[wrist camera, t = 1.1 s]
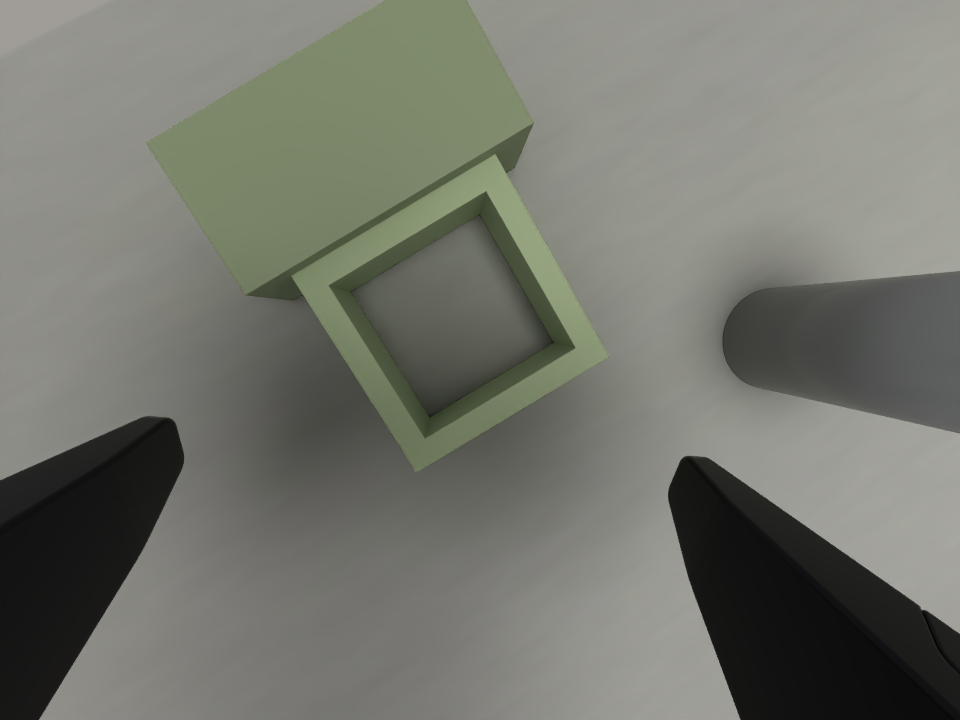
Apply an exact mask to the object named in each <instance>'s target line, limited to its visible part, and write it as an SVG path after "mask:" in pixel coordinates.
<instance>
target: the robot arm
mask: <svg viewBox="0 0 960 720" xmlns="http://www.w3.org/2000/svg"><path fill="white" fill-rule="evenodd" d="M183 464H184V452H183V449H182V445H181V441H180V437H179V433H178V430H177V426H176V423H175V422H174V421H173V420H172V419H170V418H167V417H154V416H146V417H142V418H140V419H137V420H135V421H133V422H131V423H128V424H126V425H124V426H122V427H119V428H117V429H115V430H113V431H110V432H108V433H106V434H104V435H101V436H99V437H97V438H95V439H92V440H90V441H88V442H86V443H83V444H81V445H79V446H77V447H74V448H72V449H70V450H68V451H65V452H63V453H61V454H59V455H56V456H54V457H52V458H50V459H47V460H45V461H43V462H41V463H38V464H36V465H34V466H31V467H29V468H27V469H25V470H22V471H20V472H18V473H16V474H13V475H11V476H9V477H7V478H4V479H2V480H0V720H39V719H40V717H41V716H42V714H43V712H44V711H45V709H46V707H47V706H48V704H49V703H50V701H51V699H52V698H53V696H54V694H55V693H56V691H57V689H58V688H59V686H60V685H61V683H62V681H63V680H64V678H65V676H66V675H67V673H68V672H69V670H70V668H71V667H72V665H73V663H74V662H75V660H76V659H77V657H78V655H79V654H80V652H81V650H82V649H83V647H84V645H85V644H86V642H87V641H88V639H89V637H90V636H91V634H92V632H93V631H94V629H95V628H96V626H97V624H98V623H99V621H100V619H101V618H102V616H103V615H104V613H105V611H106V610H107V608H108V606H109V605H110V603H111V601H112V600H113V598H114V597H115V595H116V593H117V592H118V590H119V588H120V587H121V585H122V584H123V582H124V580H125V579H126V577H127V575H128V574H129V572H130V571H131V569H132V567H133V566H134V564H135V562H136V561H137V559H138V557H139V555H140V554H141V552H142V550H143V548H144V546H145V545H146V543H147V541H148V539H149V537H150V535H151V533H152V531H153V529H154V526H155V524H156V522H157V520H158V518H159V516H160V514H161V512H162V510H163V508H164V506H165V503H166V501H167V499H168V497H169V495H170V493H171V491H172V489H173V487H174V485H175V483H176V480H177V478H178V476H179V474H180V472H181V470H182V467H183ZM668 500H669V505H670V508H671V512H672V516H673V520H674V524H675V528H676V532H677V536H678V540H679V544H680V548H681V551H682V555H683V559H684V563H685V567H686V570H687V574H688V577H689V581H690V583H691V586H692V589H693V592H694V595H695V598H696V600H697V603H698V606H699V609H700V611H701V614H702V617H703V619H704V622H705V625H706V627H707V630H708V633H709V636H710V638H711V641H712V644H713V646H714V649H715V652H716V655H717V657H718V660H719V663H720V665H721V668H722V671H723V673H724V676H725V679H726V682H727V684H728V687H729V690H730V692H731V695H732V698H733V701H734V703H735V706H736V709H737V711H738V714H739V717H740V719H741V720H960V634H959V633H958V632H956V631H955V630H953V629H952V628H951V627H949V626H948V625H946V624H945V623H943V622H942V621H941V620H939V619H938V618H936V617H935V616H934V615H932V614H931V613H929V612H928V611H926V610H921V608H920V606H919V605H918V604H916V603H915V602H913V601H912V600H910V599H909V598H908V597H906V596H905V595H903V594H902V593H900V592H899V591H898V590H896V589H895V588H893V587H892V586H890V585H889V584H888V583H886V582H885V581H883V580H882V579H880V578H879V577H878V576H876V575H875V574H873V573H872V572H870V571H869V570H868V569H866V568H865V567H863V566H862V565H860V564H859V563H858V562H856V561H855V560H853V559H852V558H850V557H849V556H848V555H846V554H845V553H843V552H842V551H840V550H839V549H838V548H836V547H835V546H833V545H832V544H830V543H829V542H828V541H826V540H825V539H823V538H822V537H820V536H819V535H818V534H816V533H815V532H813V531H812V530H810V529H809V528H808V527H806V526H805V525H803V524H802V523H800V522H799V521H798V520H796V519H795V518H793V517H792V516H790V515H789V514H788V513H786V512H785V511H783V510H782V509H780V508H779V507H778V506H776V505H775V504H773V503H772V502H770V501H769V500H768V499H766V498H765V497H763V496H762V495H760V494H759V493H758V492H756V491H755V490H753V489H752V488H750V487H749V486H748V485H746V484H745V483H743V482H742V481H740V480H739V479H738V478H736V477H735V476H733V475H732V474H730V473H729V472H728V471H726V470H725V469H723V468H722V467H720V466H719V465H718V464H716V463H715V462H713V461H712V460H710V459H709V458H706V457H698V456H685V457H683V458H682V459H681V461H680V463H679V465H678V468H677V470H676V472H675V475H674V477H673V479H672V482H671V484H670V487H669V491H668Z"/></svg>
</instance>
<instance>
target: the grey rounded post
mask: <svg viewBox="0 0 960 720" xmlns="http://www.w3.org/2000/svg"><path fill="white" fill-rule="evenodd" d="M723 350H724V354H725V358H726V360H727V363H728V365H729V366H730V368H731V370H732V371H733V372H734V373H735V375H736V376H737V377H739V378H740V379H741V380H742V381H744V382H745V383H747V384H749V385H752V386H755V387H758V388H762V389H767V390H771V391H776V392H780V393H784V394H789V395H793V396H798V397H802V398H806V399H811V400H815V401H820V402H824V403H828V404H833V405H837V406H842V407H846V408H850V409H855V410H859V411H864V412H868V413H872V414H877V415H881V416H886V417H890V418H894V419H899V420H903V421H908V422H912V423H916V424H921V425H925V426H930V427H934V428H938V429H943V430H947V431H951V432H956V433H960V271H957V272H946V273H935V274H924V275H913V276H902V277H891V278H880V279H869V280H858V281H847V282H836V283H825V284H814V285H803V286H792V287H781V288H770V289H764V290H760V291H757V292H754V293H752V294H751V295H749V296H747V297H746V298H744V299H743V300H742V301H741V302H740V303H739V304H738V305H737V306H736V307H735V308H734V309H733V311H732V312H731V314H730V316H729V318H728V320H727V322H726V325H725V328H724V333H723Z"/></svg>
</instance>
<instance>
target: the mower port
mask: <svg viewBox="0 0 960 720" xmlns="http://www.w3.org/2000/svg"><path fill="white" fill-rule="evenodd" d="M533 123H534V122H533V120H532V118H531V117H530V115H529V113H528V111H527V109H526V108H525V106H524V104H523V102H522V100H521V98H520V97H519V95H518V93H517V91H516V89H515V87H514V86H513V84H512V82H511V80H510V78H509V77H508V75H507V73H506V71H505V69H504V67H503V66H502V64H501V62H500V60H499V58H498V57H497V55H496V53H495V51H494V49H493V47H492V46H491V44H490V42H489V40H488V38H487V36H486V35H485V33H484V31H483V29H482V27H481V26H480V24H479V22H478V20H477V18H476V16H475V15H474V13H473V11H472V9H471V7H470V6H469V4H468V2H467V0H385V1H384V2H382V3H380V4H379V5H377V6H375V7H374V8H372V9H370V10H369V11H367V12H365V13H363V14H362V15H360V16H358V17H357V18H355V19H353V20H352V21H350V22H348V23H347V24H345V25H343V26H342V27H340V28H338V29H337V30H335V31H333V32H331V33H330V34H328V35H326V36H325V37H323V38H321V39H320V40H318V41H316V42H315V43H313V44H311V45H310V46H308V47H306V48H305V49H303V50H301V51H299V52H298V53H296V54H294V55H293V56H291V57H289V58H288V59H286V60H284V61H283V62H281V63H279V64H278V65H276V66H274V67H273V68H271V69H269V70H267V71H266V72H264V73H262V74H261V75H259V76H257V77H256V78H254V79H252V80H251V81H249V82H247V83H246V84H244V85H242V86H241V87H239V88H237V89H235V90H234V91H232V92H230V93H229V94H227V95H225V96H224V97H222V98H220V99H219V100H217V101H215V102H214V103H212V104H210V105H209V106H207V107H205V108H204V109H202V110H200V111H198V112H197V113H195V114H193V115H192V116H190V117H188V118H187V119H185V120H183V121H182V122H180V123H178V124H177V125H175V126H173V127H172V128H170V129H168V130H166V131H165V132H163V133H161V134H160V135H158V136H156V137H155V138H153V139H151V140H150V141H148V142H146V144H147V146H148V147H149V149H150V150H151V152H152V153H153V155H154V156H155V158H156V159H157V161H158V163H159V164H160V166H161V167H162V169H163V170H164V172H165V173H166V175H167V176H168V178H169V179H170V181H171V182H172V184H173V185H174V187H175V189H176V190H177V192H178V193H179V195H180V196H181V198H182V199H183V201H184V202H185V204H186V205H187V207H188V208H189V210H190V211H191V213H192V215H193V216H194V218H195V219H196V221H197V222H198V224H199V225H200V227H201V228H202V230H203V231H204V233H205V234H206V236H207V237H208V239H209V241H210V242H211V244H212V245H213V247H214V248H215V250H216V251H217V253H218V254H219V256H220V257H221V259H222V260H223V262H224V263H225V265H226V267H227V268H228V270H229V271H230V273H231V274H232V276H233V277H234V279H235V280H236V282H237V283H238V285H239V286H240V288H241V289H242V291H243V293H244V294H245V295H248V296H257V297H266V298H276V299H285V300H294V299H296V298H297V297H299V296H301V295H303V296H304V297H305V299H306V300H307V302H308V303H309V305H310V306H311V308H312V310H313V311H314V313H315V314H316V316H317V317H318V319H319V321H320V322H321V324H322V325H323V327H324V328H325V330H326V332H327V333H328V335H329V336H330V338H331V339H332V341H333V343H334V344H335V346H336V347H337V349H338V350H339V352H340V354H341V355H342V357H343V358H344V360H345V361H346V363H347V364H348V366H349V368H350V369H351V371H352V372H353V374H354V375H355V377H356V379H357V380H358V382H359V383H360V385H361V386H362V388H363V390H364V391H365V393H366V394H367V396H368V397H369V399H370V401H371V402H372V404H373V405H374V407H375V408H376V410H377V412H378V413H379V415H380V416H381V418H382V419H383V421H384V422H385V424H386V426H387V427H388V429H389V430H390V432H391V433H392V435H393V437H394V438H395V440H396V441H397V443H398V444H399V446H400V448H401V449H402V451H403V452H404V454H405V455H406V457H407V459H408V460H409V462H410V463H411V465H412V466H413V468H414V470H415V471H416V473H417V472H419V471H420V470H422V469H424V468H425V467H427V466H429V465H430V464H432V463H434V462H435V461H437V460H439V459H440V458H442V457H444V456H445V455H447V454H449V453H450V452H452V451H453V450H455V449H457V448H458V447H460V446H462V445H463V444H465V443H467V442H468V441H470V440H472V439H473V438H475V437H477V436H478V435H480V434H482V433H483V432H485V431H487V430H488V429H490V428H492V427H493V426H495V425H497V424H498V423H500V422H502V421H503V420H505V419H507V418H508V417H510V416H512V415H513V414H515V413H517V412H518V411H520V410H522V409H523V408H525V407H526V406H528V405H530V404H531V403H533V402H535V401H536V400H538V399H540V398H541V397H543V396H545V395H546V394H548V393H550V392H551V391H553V390H555V389H556V388H558V387H560V386H561V385H563V384H565V383H566V382H568V381H570V380H571V379H573V378H575V377H576V376H578V375H580V374H581V373H583V372H585V371H586V370H588V369H590V368H591V367H593V366H595V365H596V364H598V363H599V362H601V361H603V360H604V359H606V358H608V357H609V355H608V353H607V351H606V350H605V348H604V346H603V344H602V342H601V341H600V339H599V337H598V335H597V334H596V332H595V330H594V328H593V326H592V325H591V323H590V321H589V319H588V318H587V316H586V314H585V312H584V310H583V309H582V307H581V305H580V303H579V302H578V300H577V298H576V296H575V295H574V293H573V291H572V289H571V287H570V286H569V284H568V282H567V280H566V279H565V277H564V275H563V273H562V271H561V270H560V268H559V266H558V264H557V263H556V261H555V259H554V257H553V255H552V254H551V252H550V250H549V248H548V247H547V245H546V243H545V241H544V240H543V238H542V236H541V234H540V232H539V231H538V229H537V227H536V225H535V224H534V222H533V220H532V218H531V216H530V215H529V213H528V211H527V209H526V208H525V206H524V204H523V202H522V201H521V199H520V197H519V195H518V193H517V192H516V190H515V188H514V186H513V185H512V183H511V181H510V179H509V177H508V176H507V174H506V172H508V171H510V170H511V169H513V168H515V166H516V163H517V161H518V159H519V156H520V154H521V152H522V149H523V147H524V145H525V142H526V140H527V138H528V135H529V133H530V130H531V128H532V126H533ZM479 214H480V216H481V218H482V219H483V221H484V223H485V224H486V226H487V228H488V230H489V231H490V233H491V235H492V237H493V238H494V240H495V242H496V244H497V245H498V247H499V249H500V250H501V252H502V254H503V256H504V257H505V259H506V261H507V263H508V264H509V266H510V268H511V270H512V271H513V273H514V275H515V276H516V278H517V280H518V282H519V283H520V285H521V287H522V289H523V290H524V292H525V294H526V296H527V297H528V299H529V301H530V302H531V304H532V306H533V308H534V309H535V311H536V313H537V315H538V316H539V318H540V320H541V322H542V323H543V325H544V327H545V328H546V330H547V332H548V334H549V335H550V337H551V339H552V341H553V342H554V343H552V344H551V345H549V346H547V347H546V348H544V349H542V350H541V351H539V352H537V353H536V354H534V355H532V356H531V357H529V358H527V359H526V360H524V361H522V362H521V363H519V364H517V365H516V366H514V367H512V368H511V369H509V370H507V371H506V372H504V373H502V374H501V375H499V376H497V377H496V378H494V379H492V380H491V381H489V382H487V383H486V384H484V385H482V386H481V387H479V388H477V389H476V390H474V391H472V392H471V393H469V394H468V395H466V396H464V397H463V398H461V399H459V400H458V401H456V402H454V403H453V404H451V405H449V406H448V407H446V408H444V409H443V410H441V411H439V412H438V413H436V414H434V415H433V416H431V417H429V416H428V414H427V413H426V411H425V409H424V408H423V406H422V405H421V403H420V401H419V400H418V398H417V397H416V395H415V393H414V392H413V390H412V389H411V387H410V385H409V384H408V382H407V381H406V379H405V377H404V376H403V374H402V373H401V371H400V369H399V368H398V366H397V365H396V363H395V361H394V360H393V358H392V357H391V355H390V353H389V352H388V350H387V349H386V347H385V345H384V344H383V342H382V341H381V339H380V337H379V336H378V334H377V333H376V331H375V329H374V328H373V326H372V325H371V323H370V321H369V320H368V318H367V317H366V315H365V313H364V312H363V310H362V309H361V307H360V305H359V304H358V302H357V300H356V299H355V297H354V296H353V294H352V292H351V291H352V290H354V289H356V288H357V287H359V286H361V285H362V284H364V283H366V282H367V281H369V280H371V279H372V278H374V277H376V276H377V275H379V274H381V273H382V272H384V271H386V270H387V269H389V268H391V267H392V266H394V265H396V264H397V263H399V262H401V261H402V260H404V259H406V258H407V257H409V256H411V255H412V254H414V253H416V252H417V251H419V250H421V249H422V248H424V247H426V246H427V245H429V244H431V243H432V242H434V241H436V240H437V239H439V238H441V237H442V236H444V235H446V234H447V233H449V232H451V231H452V230H454V229H456V228H457V227H459V226H461V225H462V224H464V223H466V222H467V221H469V220H471V219H472V218H474V217H476V216H477V215H479Z"/></svg>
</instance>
